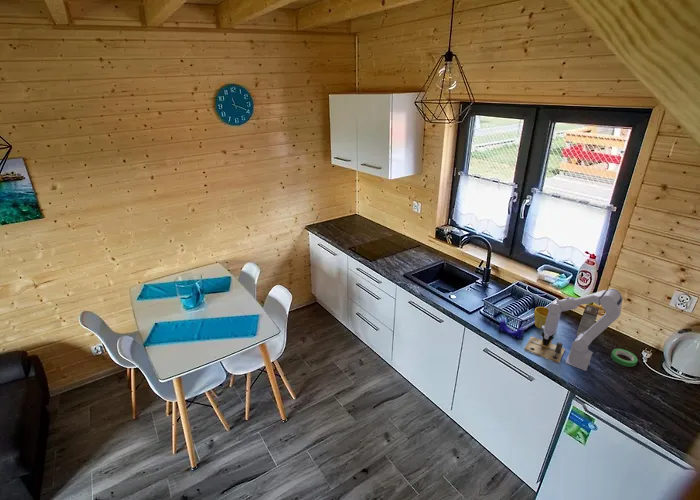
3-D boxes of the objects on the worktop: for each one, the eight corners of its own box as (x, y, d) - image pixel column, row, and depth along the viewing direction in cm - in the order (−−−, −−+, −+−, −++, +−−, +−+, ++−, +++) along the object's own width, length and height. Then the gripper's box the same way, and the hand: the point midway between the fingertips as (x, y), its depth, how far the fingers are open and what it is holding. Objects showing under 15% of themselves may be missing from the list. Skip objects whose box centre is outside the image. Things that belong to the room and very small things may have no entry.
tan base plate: (564, 350, 209) (567, 340, 207) (558, 363, 200) (561, 354, 197) (531, 337, 219) (533, 328, 216) (524, 349, 209) (526, 340, 207)
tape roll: (633, 355, 206) (635, 351, 205) (638, 369, 197) (640, 365, 196) (609, 350, 210) (610, 346, 209) (612, 363, 201) (614, 359, 200)
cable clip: (522, 335, 221) (524, 326, 218) (519, 339, 218) (521, 330, 215) (502, 326, 228) (503, 317, 226) (498, 329, 225) (500, 321, 223)
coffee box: (579, 327, 227) (586, 304, 220) (592, 332, 223) (599, 308, 217) (575, 335, 221) (583, 311, 214) (588, 340, 217) (596, 315, 210)
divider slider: (550, 346, 210) (552, 336, 207) (546, 354, 204) (548, 344, 202) (542, 343, 212) (544, 333, 210) (538, 351, 206) (540, 341, 204)
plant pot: (552, 324, 230) (556, 310, 226) (549, 333, 222) (553, 319, 218) (533, 318, 235) (536, 304, 231) (529, 327, 227) (533, 312, 223)
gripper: (547, 312, 211) (541, 333, 216) (540, 325, 200) (534, 347, 206) (561, 317, 207) (555, 338, 213) (555, 331, 196) (548, 352, 202)
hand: (546, 343), depth 209 cm, fingers closed on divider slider, 3 cm apart
